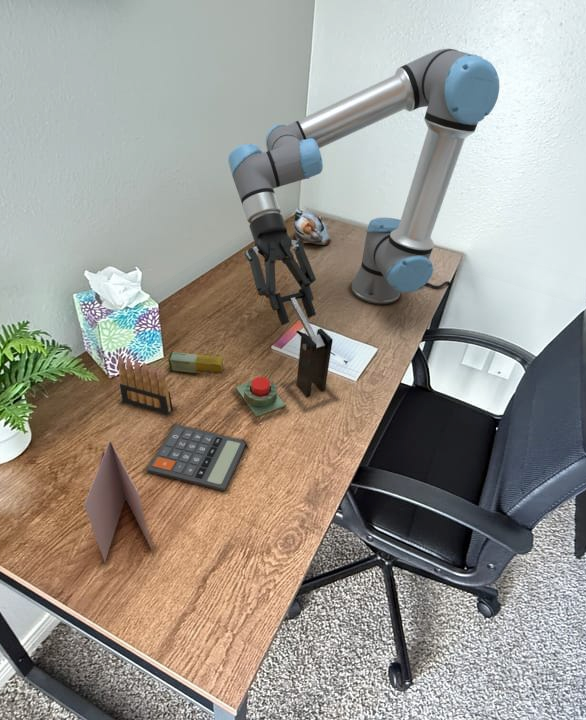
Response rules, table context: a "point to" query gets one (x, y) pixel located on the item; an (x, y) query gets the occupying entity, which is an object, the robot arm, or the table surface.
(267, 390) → the button
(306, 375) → the bracket
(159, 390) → the ammunition clip
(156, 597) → the table surface
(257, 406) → the button block
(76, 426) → the table surface
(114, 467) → the greeting card
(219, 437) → the calculator
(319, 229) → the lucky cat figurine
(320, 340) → the lever
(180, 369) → the medication box
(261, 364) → the table surface
